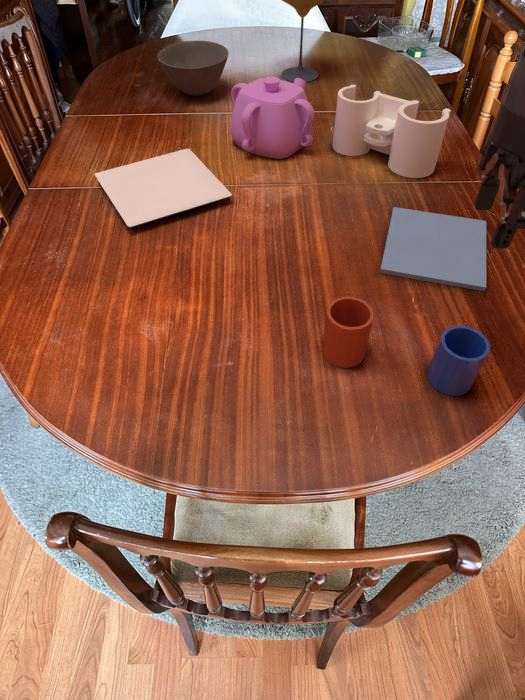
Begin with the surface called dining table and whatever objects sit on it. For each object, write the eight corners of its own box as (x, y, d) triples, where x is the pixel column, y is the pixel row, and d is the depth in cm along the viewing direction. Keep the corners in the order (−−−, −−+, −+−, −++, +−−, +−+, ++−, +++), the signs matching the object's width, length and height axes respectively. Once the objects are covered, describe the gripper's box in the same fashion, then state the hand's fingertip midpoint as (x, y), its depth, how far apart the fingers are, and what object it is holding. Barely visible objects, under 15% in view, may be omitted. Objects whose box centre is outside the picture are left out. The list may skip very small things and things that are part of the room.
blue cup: (472, 366, 76) (489, 330, 70) (471, 400, 72) (490, 365, 66) (428, 358, 78) (442, 321, 72) (425, 390, 74) (439, 355, 68)
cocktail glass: (282, 59, 156) (284, -41, 137) (338, 68, 151) (349, -35, 132) (259, 82, 145) (258, -24, 126) (318, 92, 140) (327, -16, 122)
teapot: (233, 163, 116) (230, 99, 105) (229, 121, 129) (226, 60, 118) (316, 159, 117) (321, 95, 106) (303, 118, 130) (306, 57, 119)
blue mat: (484, 225, 100) (486, 220, 99) (484, 291, 87) (486, 287, 86) (392, 211, 103) (393, 206, 102) (379, 273, 91) (380, 268, 90)
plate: (233, 203, 105) (232, 194, 104) (130, 235, 98) (128, 226, 97) (189, 155, 118) (188, 147, 117) (96, 181, 111) (93, 172, 110)
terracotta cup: (367, 340, 80) (376, 301, 74) (361, 372, 76) (370, 333, 69) (326, 332, 81) (331, 293, 75) (318, 362, 77) (322, 324, 71)
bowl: (174, 76, 148) (169, 38, 141) (237, 81, 146) (235, 42, 138) (153, 104, 136) (146, 64, 129) (220, 109, 134) (218, 69, 126)
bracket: (324, 150, 119) (328, 97, 110) (344, 134, 125) (350, 82, 115) (422, 183, 110) (436, 128, 101) (440, 164, 115) (455, 110, 106)
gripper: (601, 132, 50) (535, 261, 62) (551, 75, 60) (503, 197, 72) (524, 132, 50) (474, 260, 63) (487, 75, 60) (450, 196, 72)
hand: (489, 226), depth 67 cm, fingers open, 8 cm apart
